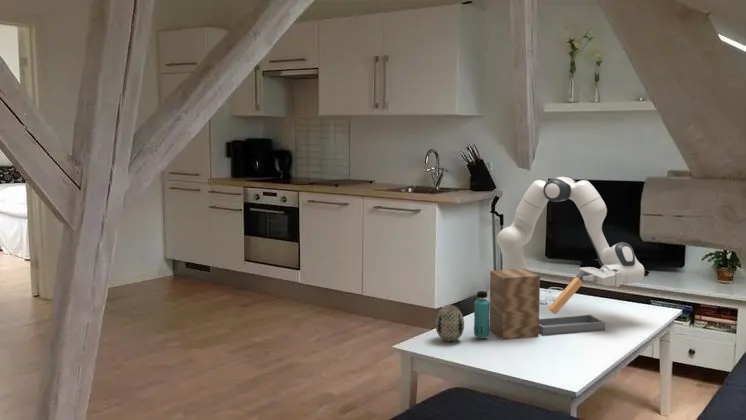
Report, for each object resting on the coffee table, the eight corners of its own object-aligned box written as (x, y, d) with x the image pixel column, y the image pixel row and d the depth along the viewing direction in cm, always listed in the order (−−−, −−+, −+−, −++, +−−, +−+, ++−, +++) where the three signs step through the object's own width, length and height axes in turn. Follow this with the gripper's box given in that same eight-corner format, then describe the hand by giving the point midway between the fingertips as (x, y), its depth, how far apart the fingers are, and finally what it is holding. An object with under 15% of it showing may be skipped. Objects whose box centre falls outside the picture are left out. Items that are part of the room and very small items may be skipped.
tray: (590, 322, 313) (590, 314, 313) (605, 330, 302) (605, 322, 301) (530, 327, 307) (530, 319, 306) (542, 335, 295) (543, 327, 295)
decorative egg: (429, 340, 290) (429, 304, 288) (449, 334, 298) (449, 299, 296) (450, 347, 281) (450, 310, 279) (470, 341, 289) (470, 305, 287)
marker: (585, 274, 305) (581, 270, 304) (589, 276, 302) (585, 271, 301) (552, 312, 303) (547, 308, 302) (555, 314, 300) (551, 310, 299)
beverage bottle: (489, 336, 295) (489, 289, 292) (490, 341, 288) (490, 293, 285) (473, 336, 295) (473, 289, 293) (473, 341, 289) (474, 293, 286)
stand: (523, 327, 307) (525, 268, 304) (538, 336, 294) (540, 275, 290) (489, 329, 303) (490, 270, 300) (502, 340, 290) (503, 278, 286)
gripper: (595, 262, 315) (567, 264, 312) (622, 272, 295) (592, 274, 292) (595, 276, 316) (567, 278, 313) (621, 287, 296) (592, 289, 293)
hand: (579, 276), depth 302 cm, fingers closed on marker, 3 cm apart
